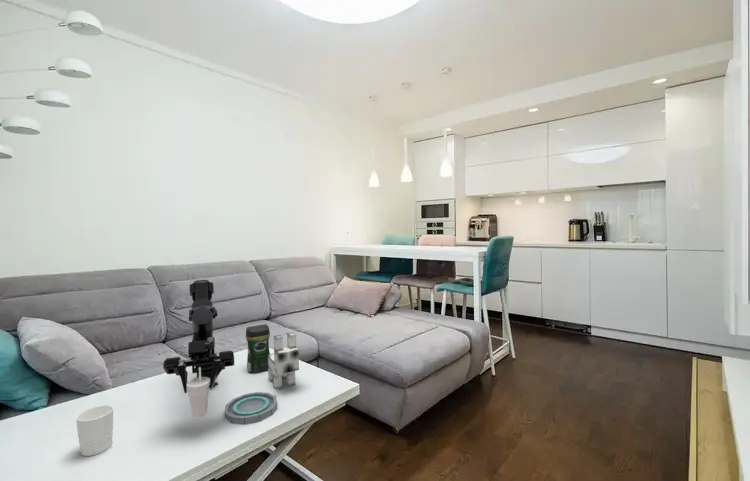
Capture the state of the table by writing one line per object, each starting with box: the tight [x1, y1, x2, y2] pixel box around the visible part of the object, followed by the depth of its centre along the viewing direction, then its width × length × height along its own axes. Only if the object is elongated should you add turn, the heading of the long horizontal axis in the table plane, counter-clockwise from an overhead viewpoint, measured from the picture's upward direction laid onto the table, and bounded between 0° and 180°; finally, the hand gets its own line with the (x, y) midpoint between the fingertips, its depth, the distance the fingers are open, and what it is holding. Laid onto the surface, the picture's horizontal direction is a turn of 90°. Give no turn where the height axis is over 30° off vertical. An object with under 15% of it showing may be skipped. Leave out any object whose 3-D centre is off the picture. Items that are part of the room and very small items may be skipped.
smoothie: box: [186, 367, 210, 418], centre depth 101 cm, size 6×6×14 cm
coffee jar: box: [245, 323, 271, 374], centre depth 146 cm, size 10×8×19 cm
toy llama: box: [267, 332, 300, 391], centre depth 132 cm, size 8×18×20 cm, turn 31°
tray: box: [223, 391, 278, 425], centre depth 114 cm, size 16×16×2 cm
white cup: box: [75, 405, 114, 457], centre depth 95 cm, size 8×8×10 cm
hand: (198, 390), depth 100 cm, fingers closed on smoothie, 6 cm apart
